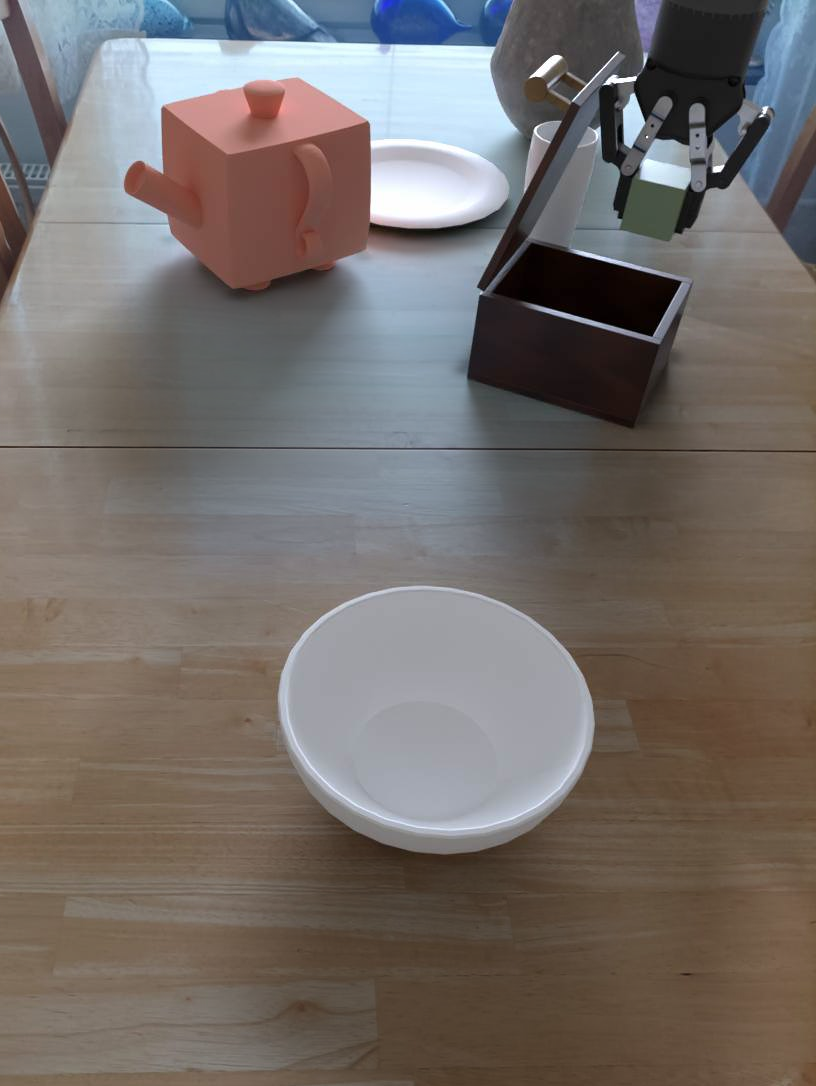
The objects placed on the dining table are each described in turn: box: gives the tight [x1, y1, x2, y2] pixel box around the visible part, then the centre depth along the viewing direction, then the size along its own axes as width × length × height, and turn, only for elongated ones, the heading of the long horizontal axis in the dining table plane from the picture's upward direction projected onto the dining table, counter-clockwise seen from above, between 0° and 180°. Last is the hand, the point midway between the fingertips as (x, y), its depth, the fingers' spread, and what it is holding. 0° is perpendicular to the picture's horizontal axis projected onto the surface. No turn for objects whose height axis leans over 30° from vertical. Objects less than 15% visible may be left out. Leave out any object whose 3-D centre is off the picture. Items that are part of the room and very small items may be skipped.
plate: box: [370, 138, 511, 231], centre depth 121 cm, size 25×25×2 cm
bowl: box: [277, 585, 596, 855], centre depth 63 cm, size 20×20×7 cm
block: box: [619, 158, 691, 243], centre depth 82 cm, size 4×4×4 cm
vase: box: [489, 0, 645, 141], centre depth 126 cm, size 20×19×25 cm
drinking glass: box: [523, 121, 600, 248], centre depth 104 cm, size 7×7×15 cm
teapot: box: [123, 76, 372, 291], centre depth 102 cm, size 25×23×18 cm
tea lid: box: [476, 52, 626, 292], centre depth 85 cm, size 18×13×5 cm
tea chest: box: [466, 237, 695, 429], centre depth 93 cm, size 17×13×9 cm
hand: (652, 222), depth 84 cm, fingers closed on block, 4 cm apart
